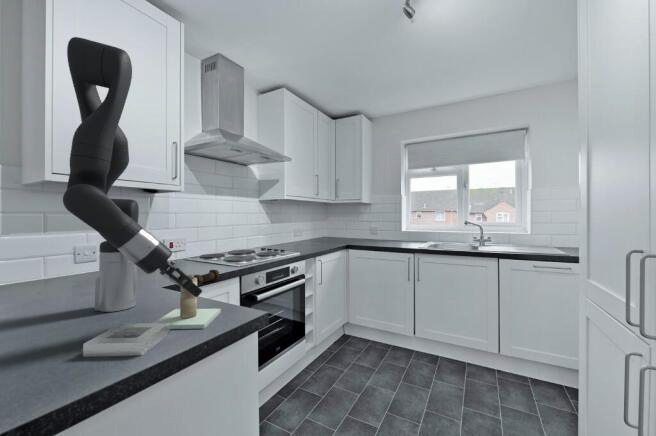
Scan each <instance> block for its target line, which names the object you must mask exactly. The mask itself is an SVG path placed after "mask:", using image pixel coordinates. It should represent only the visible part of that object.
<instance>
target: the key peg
mask: <svg viewBox="0 0 656 436" xmlns="http://www.w3.org/2000/svg"><path fill="white" fill-rule="evenodd" d="M194 275H195V274H186V276H187V277H188V278H190V279H191V280H192V281H193V283H194V284H195V285H196V286H197V278H194ZM186 281H187V279H185V280H184V281H183V282H182V284H183V285H184V284H185V283H186ZM179 296H180V297H179V299H180V300H179V304H180V305H179V309H180V318H182V319H189V318H193V317H196V316H197V309H198V305H197V304H198V297H195V296H194V295H193V294H191V293H190V292H189V291H188V290H186V289H183V287H182V286H181V285H180V294H179Z"/></svg>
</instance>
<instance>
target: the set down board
mask: <svg viewBox="0 0 656 436" xmlns="http://www.w3.org/2000/svg"><path fill="white" fill-rule="evenodd" d="M221 312H222V311H221V308H197V316H196V317H193V318H189V319H182V318H180V308H175V309H173V310H171V311H170V312H168V313H167V314H165V315H163V316H162V317H160V318H159V319H158V320H156V321H154V322H153V323H169V330H186V329H187V330H188V329H190V330H193V329H199V330H201V329H203V330H204V329H205V328H207V326H209V325H210V324H211V322H212V321H213V320H215V318H216V317H218V315H219V314H221Z"/></svg>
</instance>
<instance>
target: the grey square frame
mask: <svg viewBox="0 0 656 436" xmlns="http://www.w3.org/2000/svg"><path fill="white" fill-rule="evenodd" d="M169 334H170V329H169V323H154V322H150V323H148V322H147V323H141V322H140V323H119V324H118V325H115V326H114V327H112V328H110V329H108V330H106V331H105V332H103V333H101V334H99V335H97V336H95V337H93V338H91V339H90V340H87V341H86V342H84V343H83V344H82V345H83V346H82V357H83V358H84V357H85V358H86V357H87V358H88V357H92V358H93V357H127V356H128V357H130V356H131V357H132V356H143V355H144V354H146V353H147V352H149V350H150V349H152V348H153V347H155V346H156V345H157V344H158V343H160V342H161V341H162V340H164V339H165V338H166V337H167V336H169Z"/></svg>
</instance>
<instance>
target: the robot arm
mask: <svg viewBox="0 0 656 436" xmlns="http://www.w3.org/2000/svg"><path fill="white" fill-rule="evenodd" d="M66 55H67V64H68V68H69V73H70V76H71V77H70V79H71V81H72V85H73V89H74V93H75V97H76V101H77V106H78V109H79V114H80V119H81V120H80V121H81V123H80V124H79V125H78V127H77V128H76V130H75V131H74V133H73V135H72V136H73V137H72V141H71V149H70V156H69V176H68V182H67V185H66V186H67V187H66V190H65V192H64V194H63V196H62V203H63V206H64V208H65V209H66V210H67V211H68V212H69V213H70V214H72V215H73V216H75V217H76V218H78V220H80V221H82V223H85V225H87V226H89V227H90V228H92V229H93V230H95V231H96V232H98V234H99V235H100V236H101V237H102V238H103V239H104V240H105V241H102V242H100V243H99V256H98V257H99V261H98V262H99V263H98V277H95V280H94V311H99V312H104V313H105V312H107V313H109V312H118V311H124V310H128V309H132V308H133V307H135V306H136V305H137V304H136V303H137V302H136V301H137V267H138V268H139V269H141V270H142V271H143V272H144V273H146V274H147V275H150V274H153V273H155V272H156V271H158V269H159V271H160V272H159V274H160V275H161V276H163V277H164V278H165V279H168V280H169V281H170V282H172V283H173V284H175V285H178V286H180V287H181V286H182V287H183V289H186V290H188V291H189V292H190V293H191V294H193V295H194V296H195V297H197V298H198V297H199V296H200V295H201V294H202V293H203V290H202V289H201V288H200V287H199V286H196V285H195V284H194V283H193V281H192V280H191V279H190V278H188V277H187V276H186V275H187V273H186V272H185V271H183V270H182V269H181V268H180V267H179V265H178V264H177V263H175V262H173V261H170V262H169V261H168V259H170V258H171V256H172V254H173V251H172V250H171V249H170V248H169V247H167V245H165V243H163V242H162V241H161V240H160V239H158V238H157V237H156V236H155V235H154V234H152V233H151V232H149V231H148V230H146V229H145V228H143V226H141V225H140V224H139V212H140V211H139V209H140V208H139V204H138V201H137V200H136V199H132V198H131V199H129V198H128V199H127V198H110V197H109V196H108V193H109V191H110V190H111V188H112V186H113V185H114V184H115V182H116V181H117V180H118V179H119V178H120V177H121V176H122V174H123V173H124V172H125V171H126V170H127V168H128V166H129V163H130V153H129V142H128V138H127V136H126V134H125V133H124V131H123V130H122V128H121V127H120V125H119V122H120V120H121V117H122V113H123V111H124V108H125V105H126V102H127V99H128V94H129V91H130V87H131V84H132V79H133V65H132V60H131V57H130V55H129V54H128V53H127V51H125V49H123V48H119V47H117V46H113V45H110V44H106V43H102V42H98V41H94V40H91V39H87V38H83V37H78V36H73V37H71V38H70V39H69V41H68V43H67V48H66ZM97 87H101V88H106V89H108V91H107V93H106V96H105V98H104V99H103V101H102V100H101V97H100V94H99V92H98V89H97ZM185 279H187V281H186V283H185V284H184V285H183V284H182V282H183V281H184V280H185Z"/></svg>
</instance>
